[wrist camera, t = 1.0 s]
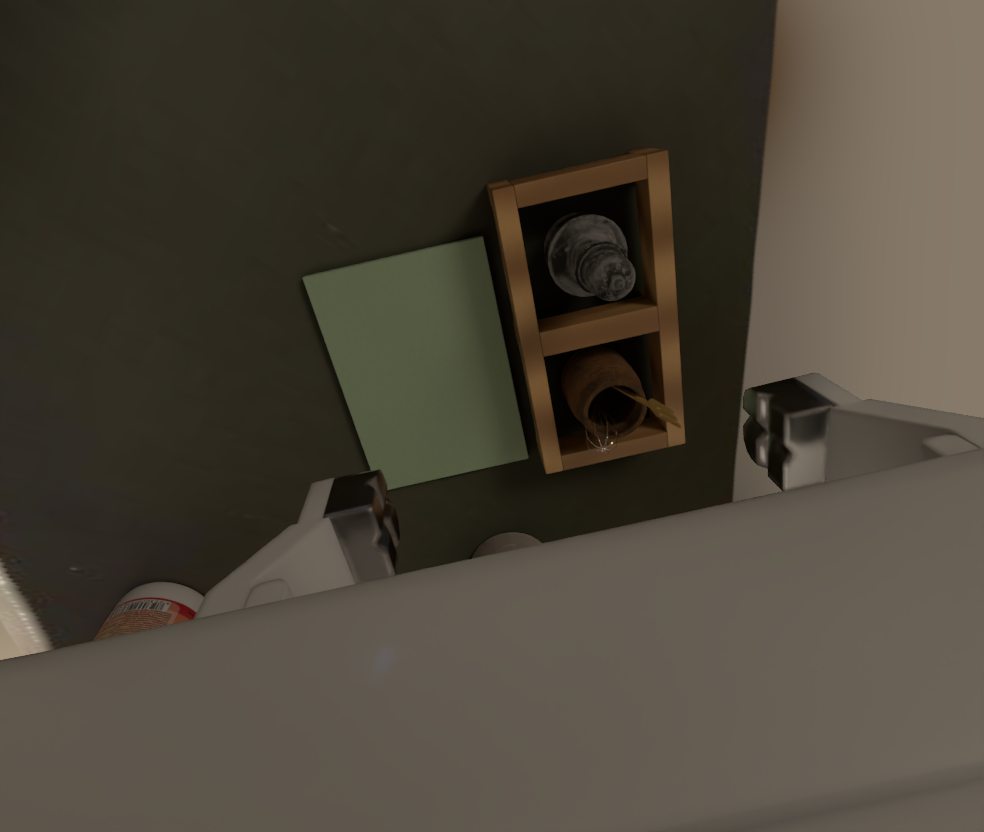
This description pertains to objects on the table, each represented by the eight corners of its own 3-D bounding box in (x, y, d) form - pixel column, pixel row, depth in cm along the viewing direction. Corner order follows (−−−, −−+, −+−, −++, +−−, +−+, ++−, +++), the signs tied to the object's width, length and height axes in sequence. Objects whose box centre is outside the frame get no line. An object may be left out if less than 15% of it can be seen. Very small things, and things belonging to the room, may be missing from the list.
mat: (303, 276, 45) (301, 277, 44) (482, 235, 45) (483, 236, 44) (378, 488, 54) (378, 492, 53) (527, 455, 54) (528, 458, 53)
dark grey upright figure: (628, 250, 46) (688, 289, 36) (569, 299, 48) (609, 351, 37) (585, 190, 44) (634, 213, 33) (524, 244, 45) (553, 282, 35)
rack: (485, 183, 43) (491, 190, 39) (646, 147, 43) (668, 149, 39) (537, 448, 54) (546, 474, 50) (666, 419, 53) (685, 443, 49)
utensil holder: (546, 366, 50) (577, 433, 39) (612, 328, 49) (662, 386, 38) (577, 418, 53) (614, 493, 42) (640, 383, 52) (694, 451, 41)
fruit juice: (143, 563, 55) (-94, 927, 30) (236, 604, 58) (92, 963, 34) (101, 625, 58) (-145, 1005, 33) (193, 661, 61) (30, 1031, 36)
